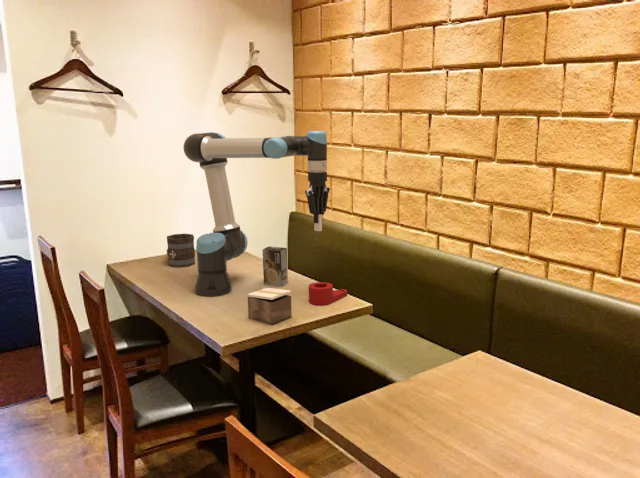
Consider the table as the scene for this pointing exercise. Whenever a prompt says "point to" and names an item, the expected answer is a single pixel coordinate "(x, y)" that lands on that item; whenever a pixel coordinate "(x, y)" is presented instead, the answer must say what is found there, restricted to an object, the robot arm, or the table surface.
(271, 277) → the coffee box
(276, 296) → the lid
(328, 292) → the lever
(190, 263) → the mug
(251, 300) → the box
